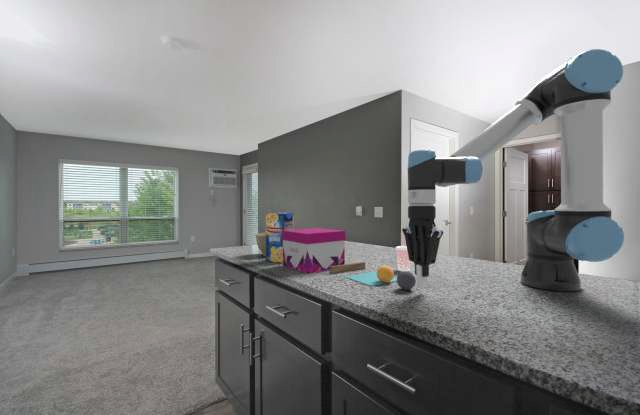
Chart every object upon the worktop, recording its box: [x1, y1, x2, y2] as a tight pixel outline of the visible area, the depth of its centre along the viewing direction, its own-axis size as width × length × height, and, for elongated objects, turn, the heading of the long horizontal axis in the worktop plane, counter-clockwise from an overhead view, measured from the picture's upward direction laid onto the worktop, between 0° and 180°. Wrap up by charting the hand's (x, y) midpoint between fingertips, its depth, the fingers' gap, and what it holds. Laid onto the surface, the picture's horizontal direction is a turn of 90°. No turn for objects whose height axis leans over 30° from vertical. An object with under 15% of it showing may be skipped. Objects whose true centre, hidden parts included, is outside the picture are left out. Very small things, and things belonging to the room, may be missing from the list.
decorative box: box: [282, 227, 346, 274], centre depth 127 cm, size 19×19×15 cm
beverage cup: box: [395, 233, 411, 272], centre depth 119 cm, size 6×6×14 cm
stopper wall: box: [329, 261, 366, 275], centre depth 118 cm, size 1×16×2 cm, turn 121°
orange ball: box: [376, 265, 395, 284], centre depth 101 cm, size 6×6×6 cm
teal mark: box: [345, 271, 397, 287], centre depth 106 cm, size 14×14×1 cm
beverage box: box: [265, 212, 295, 264], centre depth 139 cm, size 7×11×22 cm, turn 57°
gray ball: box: [396, 271, 417, 291], centre depth 92 cm, size 6×6×6 cm
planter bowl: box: [255, 232, 266, 257], centre depth 156 cm, size 16×16×11 cm
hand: (421, 287), depth 88 cm, fingers closed
